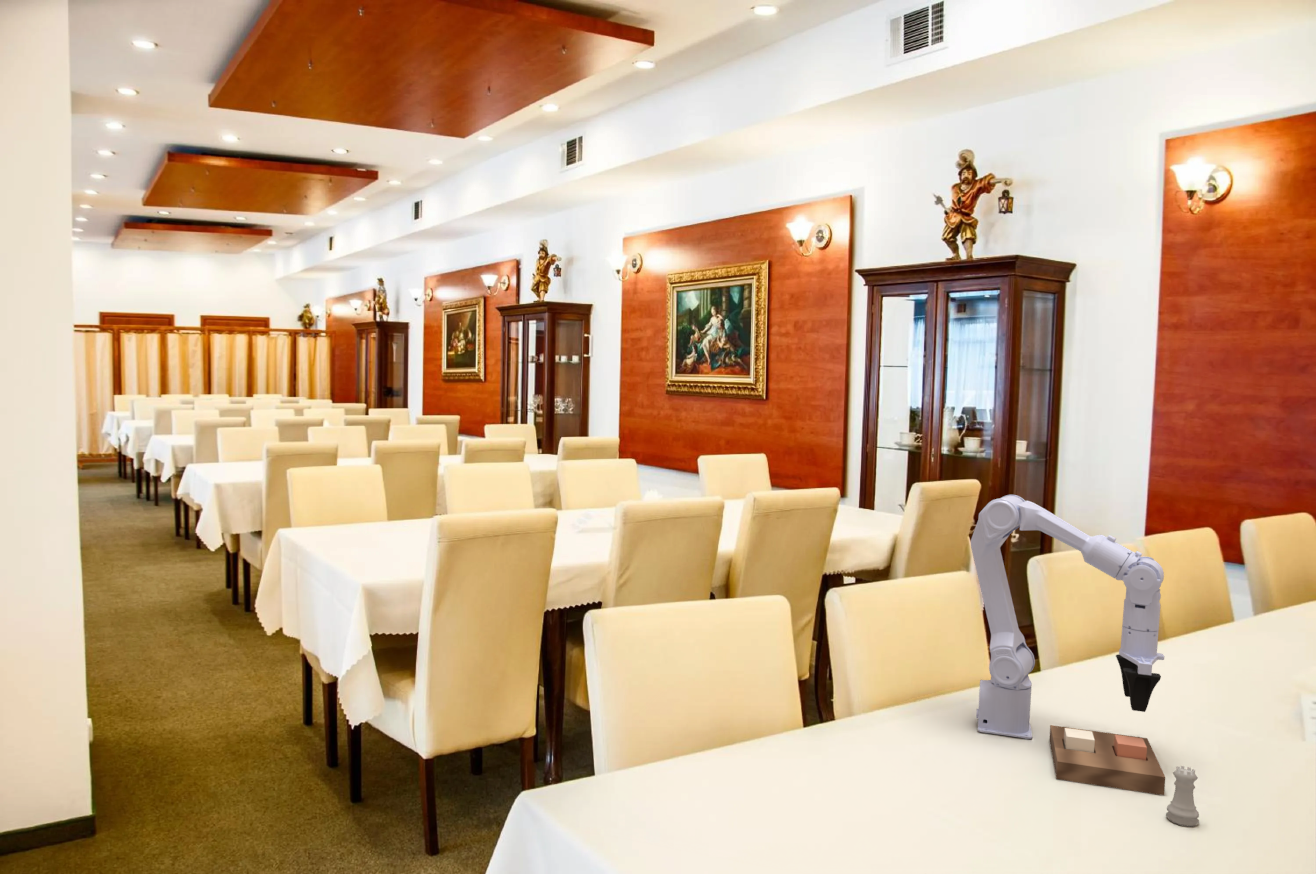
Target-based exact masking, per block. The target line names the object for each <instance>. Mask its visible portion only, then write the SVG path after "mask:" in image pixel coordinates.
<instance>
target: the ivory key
mask: <svg viewBox="0 0 1316 874" xmlns="http://www.w3.org/2000/svg"><path fill="white" fill-rule="evenodd" d="M1070 728H1071V727H1069V728H1065V730H1064V749H1070V750H1077V751H1084V752H1091V753H1094V744H1095V740H1094V736H1093V733H1092V731H1093V730H1091V731H1085V730H1086V729H1083V730H1077V729H1078V728H1076V729H1070Z"/></svg>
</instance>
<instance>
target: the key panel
mask: <svg viewBox="0 0 1316 874" xmlns="http://www.w3.org/2000/svg"><path fill="white" fill-rule="evenodd" d="M1049 727H1050V728H1049V746H1050V752H1051V756H1052V763H1053V768H1054V774H1055V778H1056V780H1059V781H1060V780H1061V781H1068V782H1073V783H1080V784H1086V785H1087V784H1088V785H1093V786H1100V787H1106V788H1112V789H1119V790H1125V791H1132V792H1140V793H1145V794H1146V793H1147V794H1151V795H1157V796H1165V790H1166V789H1165V787H1166V776H1165V774H1164V772H1163V769H1162V767H1161V765H1160V762H1159V760H1158V759H1157V756H1156V754H1155V752H1154V750H1153V747H1152V745H1151V743H1150V741H1149V739H1148V738H1147V737H1141V736H1134V735H1133V736H1132V735H1125V734H1118V733H1111V732H1105V731H1099V730H1098V731H1097V730H1091V729H1089V730H1088V729H1083V728H1074V727H1067V726H1060V725H1052V724H1050V725H1049ZM1065 728H1070V729H1077V730H1085V731H1092V733H1093V736H1094V740H1095V744H1094V753H1091V752H1084V751H1077V750H1070V749H1064V730H1065ZM1115 735H1121V736H1129V737H1136V738H1143V740H1144V742H1145V744H1146V747H1147V754H1146V760H1140V759H1133V758H1126V757H1119V756H1115V753H1114V737H1115Z"/></svg>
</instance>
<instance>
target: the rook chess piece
mask: <svg viewBox="0 0 1316 874" xmlns="http://www.w3.org/2000/svg"><path fill="white" fill-rule="evenodd" d="M1175 767H1176V769H1175V770H1174V771H1173V772H1172V773H1173V776H1174V777H1175V781H1174V782H1173V784H1174V786H1175V789H1174V794H1173V797H1172V800H1171V801H1170V803H1169V804H1167V807H1166V811H1167V812H1166V813H1165V816H1166V817H1167V819H1168V820H1169V821H1170V822H1171V823H1173V824H1175V825H1178V826H1181V827H1185V828H1186V827H1187V828H1191V827H1195V826H1197V825H1198V824H1199V823H1200V820H1199V819H1198V818H1200V814H1199V811H1198V809H1197V806H1196V804H1195V799H1194V790H1195V789H1196V786H1195V781H1197V780H1198V776H1197V774H1196V769H1194V768H1191V767H1189V766H1187V769H1186V768H1185V766H1184V765H1180V766H1179V765H1178V766H1175Z"/></svg>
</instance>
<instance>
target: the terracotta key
mask: <svg viewBox="0 0 1316 874" xmlns="http://www.w3.org/2000/svg"><path fill="white" fill-rule="evenodd" d="M1121 735H1122V734H1120V735H1115V737H1114V753H1115V756H1119V757H1126V758H1133V759H1140V760H1146V754H1147V747H1146V744H1145V742H1144V740H1143V738H1144V737H1142V738H1136V737H1137V736H1135V737H1129V736H1130V735H1127V736H1121Z"/></svg>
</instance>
